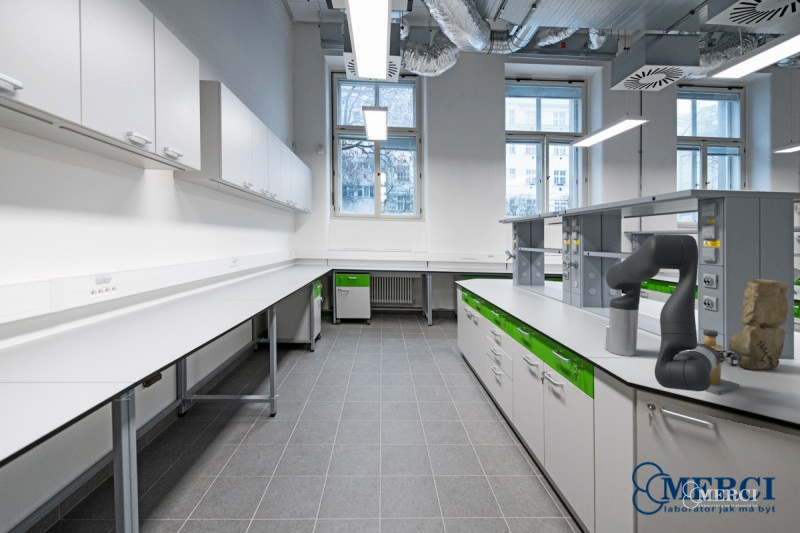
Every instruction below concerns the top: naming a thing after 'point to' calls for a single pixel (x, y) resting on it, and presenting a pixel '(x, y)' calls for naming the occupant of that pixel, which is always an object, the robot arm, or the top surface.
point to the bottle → (711, 341)
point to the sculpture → (762, 325)
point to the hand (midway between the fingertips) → (711, 348)
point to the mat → (723, 387)
